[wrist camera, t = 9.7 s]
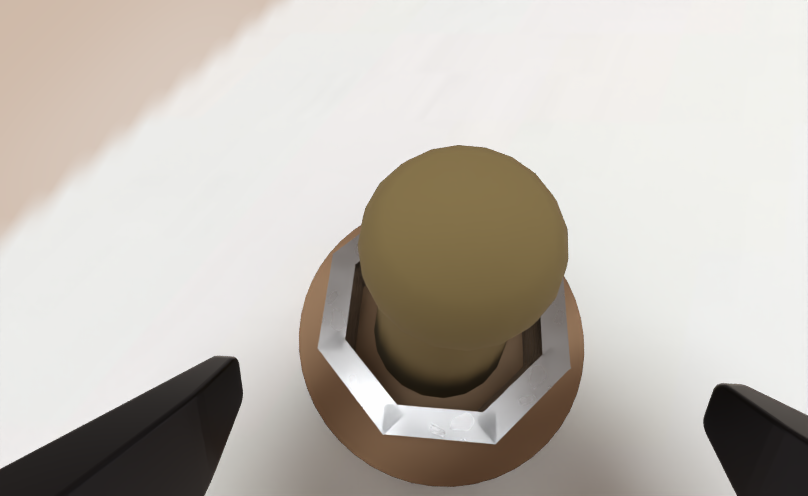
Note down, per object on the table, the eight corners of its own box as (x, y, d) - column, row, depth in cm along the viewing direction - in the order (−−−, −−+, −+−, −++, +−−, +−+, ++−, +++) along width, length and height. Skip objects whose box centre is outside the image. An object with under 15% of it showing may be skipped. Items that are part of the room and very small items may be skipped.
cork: (421, 245, 21) (428, 71, 11) (529, 311, 19) (654, 180, 9) (347, 345, 19) (272, 247, 9) (461, 428, 17) (526, 422, 7)
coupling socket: (633, 344, 20) (684, 324, 16) (427, 561, 16) (431, 597, 13) (446, 170, 24) (452, 123, 20) (252, 316, 21) (217, 291, 17)
